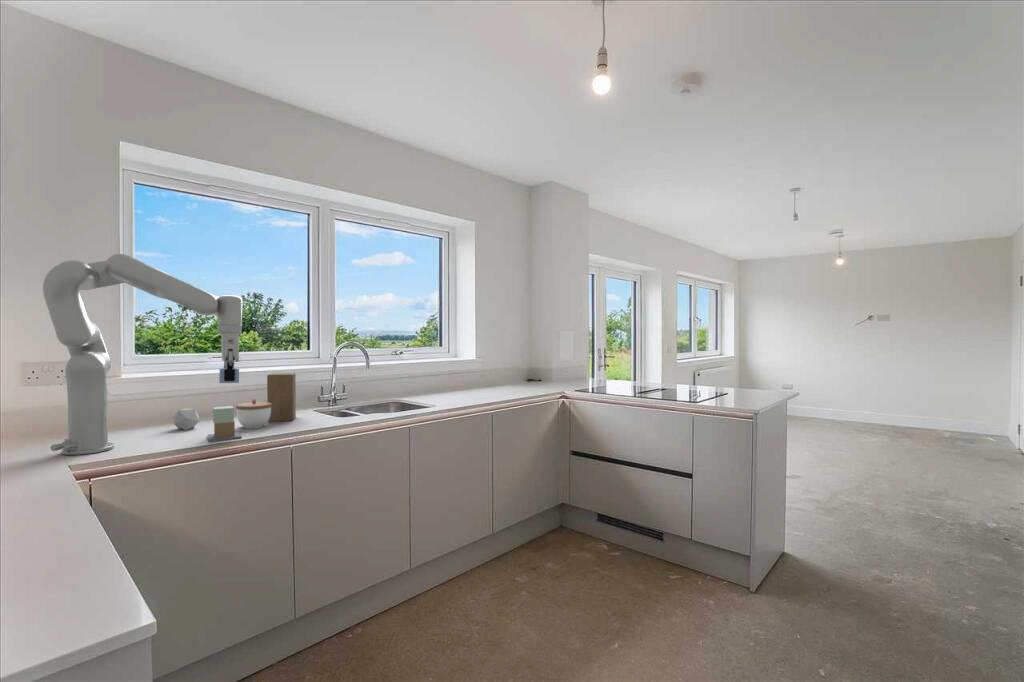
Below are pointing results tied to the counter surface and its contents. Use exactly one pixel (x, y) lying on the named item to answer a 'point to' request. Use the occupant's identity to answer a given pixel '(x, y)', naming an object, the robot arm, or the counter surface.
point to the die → (186, 419)
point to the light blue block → (221, 380)
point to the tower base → (237, 436)
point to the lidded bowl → (253, 414)
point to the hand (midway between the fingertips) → (228, 379)
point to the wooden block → (281, 396)
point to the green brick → (223, 414)
